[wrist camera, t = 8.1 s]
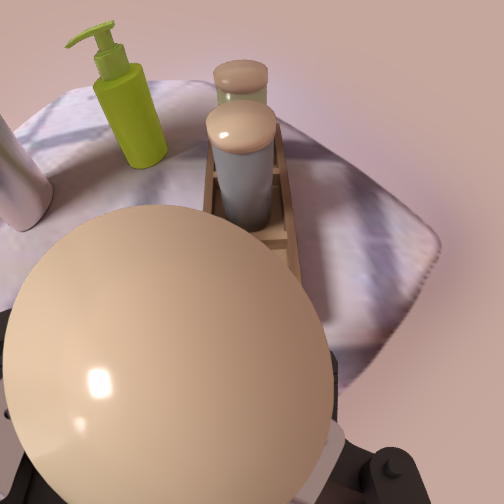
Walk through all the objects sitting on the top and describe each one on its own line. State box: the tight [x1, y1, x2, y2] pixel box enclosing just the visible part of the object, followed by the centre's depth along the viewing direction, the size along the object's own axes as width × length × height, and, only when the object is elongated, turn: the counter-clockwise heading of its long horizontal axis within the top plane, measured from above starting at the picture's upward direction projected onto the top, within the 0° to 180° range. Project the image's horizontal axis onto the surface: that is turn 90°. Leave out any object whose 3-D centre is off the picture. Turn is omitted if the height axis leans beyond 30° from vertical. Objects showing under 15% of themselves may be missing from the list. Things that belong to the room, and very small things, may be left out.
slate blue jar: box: [206, 100, 276, 233], centre depth 23 cm, size 5×5×12 cm
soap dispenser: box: [65, 20, 168, 169], centre depth 27 cm, size 6×7×20 cm
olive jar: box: [213, 60, 268, 105], centre depth 27 cm, size 5×5×12 cm
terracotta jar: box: [3, 205, 334, 504], centre depth 8 cm, size 5×5×12 cm
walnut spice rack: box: [203, 123, 302, 286], centre depth 29 cm, size 8×24×4 cm, turn 2°
